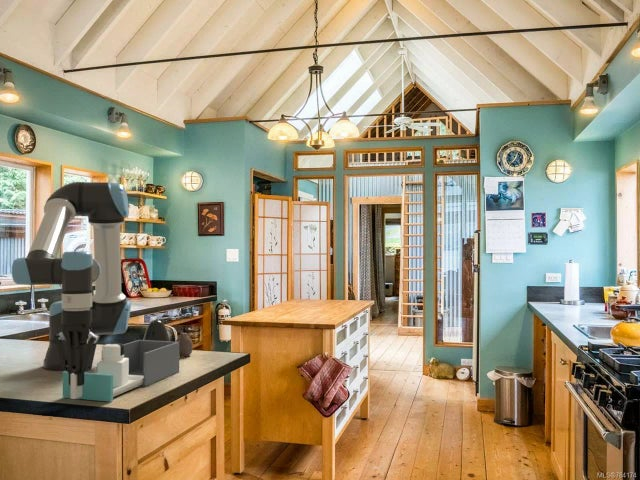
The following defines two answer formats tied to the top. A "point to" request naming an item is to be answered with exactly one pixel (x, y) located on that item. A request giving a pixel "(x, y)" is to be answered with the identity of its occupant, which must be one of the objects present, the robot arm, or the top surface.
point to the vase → (184, 345)
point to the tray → (100, 386)
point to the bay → (152, 359)
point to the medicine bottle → (114, 363)
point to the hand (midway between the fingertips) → (76, 397)
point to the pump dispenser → (156, 331)
